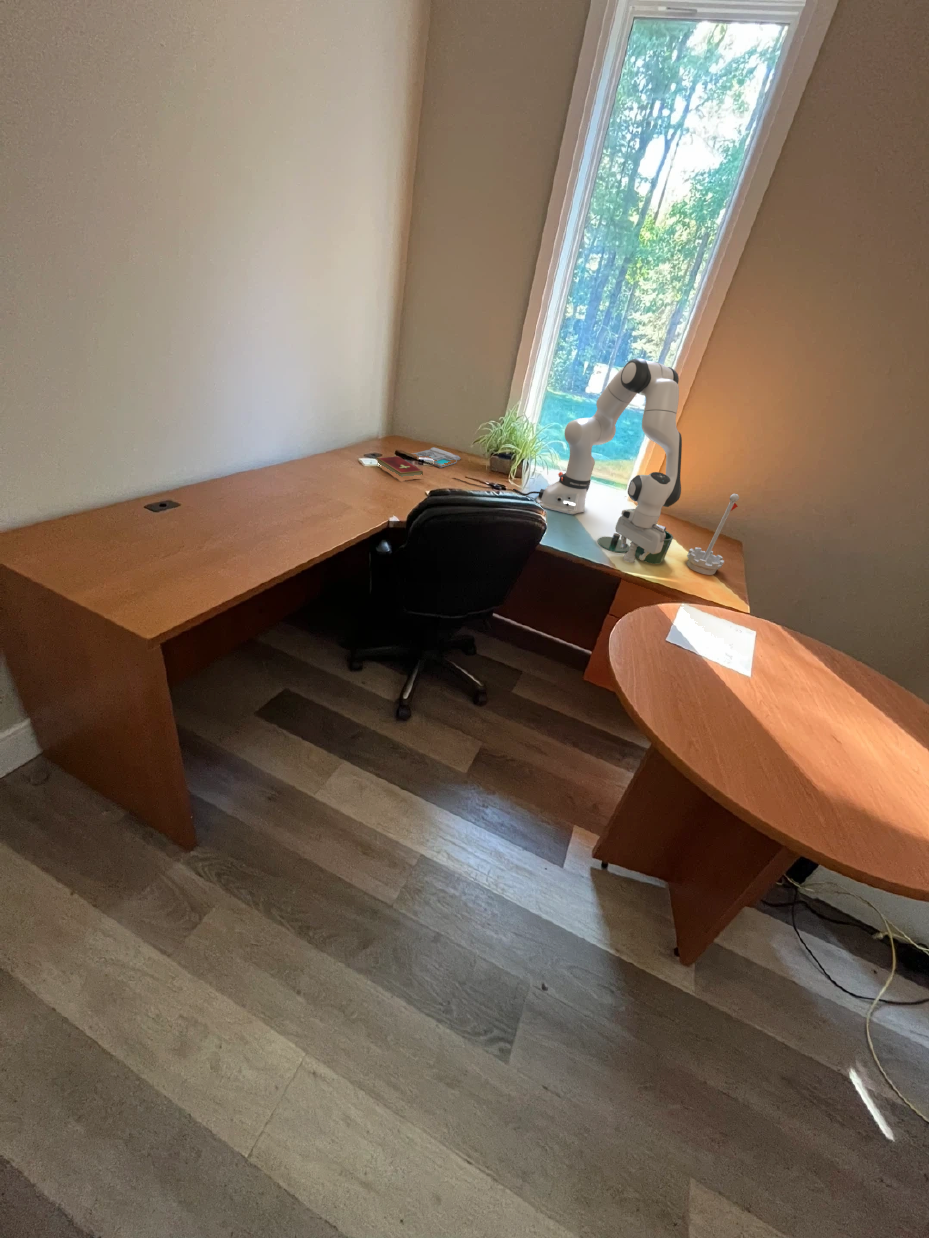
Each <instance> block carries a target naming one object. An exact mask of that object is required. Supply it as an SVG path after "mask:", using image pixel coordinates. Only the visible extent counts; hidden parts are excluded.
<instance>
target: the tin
mask: <svg viewBox="0 0 929 1238" xmlns="http://www.w3.org/2000/svg"><path fill="white" fill-rule="evenodd" d="M664 532H665V534H666V537H665V539H664V543H663V547H662V550H661V552H659V553H657V554H651V553H649V554H648V555H647V556H646V557H645V559H644V560H641V559H639V557H640V554H644V553H645V552H644V550H645V549H643V548H642V547H640V546H638V547H637V550H636V551H635V558H637V559H639V560H640V561H642V562H645V563H648V564H654V565H660V564H661V563H664V561H665V558H666V556H667V553H668V551H669V549H670V546H671V544H672V542H673V539H674V535H673V534H672V533H670V532H669V531H668V530H664ZM664 532H663V533H664Z"/></svg>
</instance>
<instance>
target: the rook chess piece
mask: <svg viewBox="0 0 929 1238" xmlns="http://www.w3.org/2000/svg"><path fill="white" fill-rule="evenodd" d="M629 544H630V545H629V547H630V548H629V550H628V551H627V552H625V554H624V556H623V558H622V559H623V560H624V561H625V562H627V563H634V562H635V560H636V556H635V551H636V550H637V547H638V545H637V544H635V543H633V542H632V541H630V543H629Z"/></svg>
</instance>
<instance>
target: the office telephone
mask: <svg viewBox="0 0 929 1238" xmlns="http://www.w3.org/2000/svg"><path fill="white" fill-rule="evenodd" d="M412 454H416V455H417V456H419V457H420V456H429V457H431V458H433V460H437V461H434V463H435V464H436V465H435V464H433V463H430V464H429V465H432V466H434V467H438V468H440V469H441V468H445V467H448V466H452V465H454V464H457V462H459V461H461V457H460V456H459V455H458V454H455V453H452V452H449V451H446V450H443V449H440V448H438V447H434V446H432V447H431V448H430V449H426V450H422V451H418V452H413V453H412ZM450 460H456V462H454V463H451V464H448V465H445V464H444V463H448V462H451V461H450ZM438 465H439V466H438ZM442 465H444V466H442Z"/></svg>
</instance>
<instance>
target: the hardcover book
mask: <svg viewBox="0 0 929 1238" xmlns="http://www.w3.org/2000/svg"><path fill="white" fill-rule="evenodd" d="M376 460H377V464H378V463H379V464H380V465H382V466H384V467H386V468H387V469H389V470H390V471H392V472H395V473H396V474H398V475H399V476H401V477H403V476H414V475H421V474H422V475H423V476H424V471H423V470H422V469H420V468H418V467H417V466H415V465H414V464H412V463H410V462H409V461H407V460H405V459H403V458H402V457H401V456H399V455H392V456H391V455H390V456H382V457H380V456H379V457H376ZM380 465H379V466H380Z"/></svg>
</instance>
